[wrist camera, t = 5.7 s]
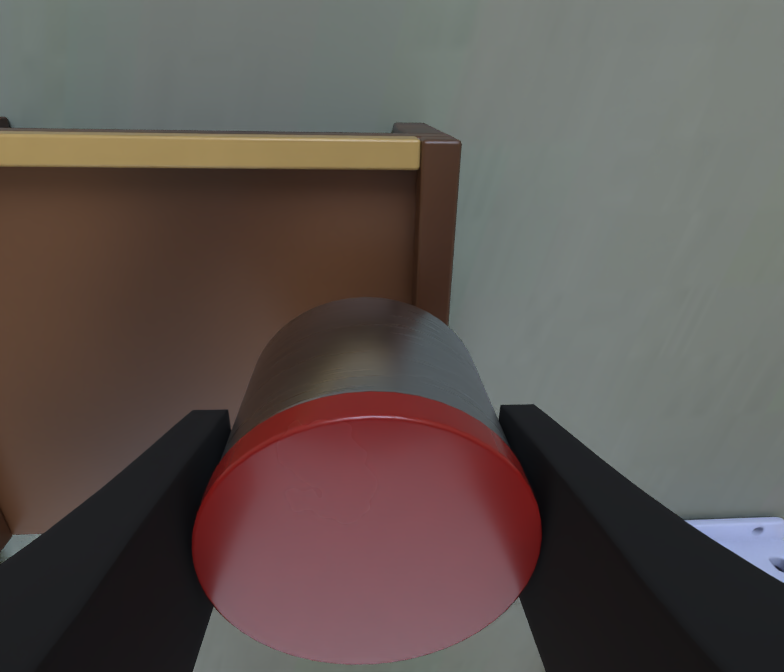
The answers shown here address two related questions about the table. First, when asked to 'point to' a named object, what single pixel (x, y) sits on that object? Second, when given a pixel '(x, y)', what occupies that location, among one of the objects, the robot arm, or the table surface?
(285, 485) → the spice tin
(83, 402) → the rack
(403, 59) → the table surface
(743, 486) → the table surface
